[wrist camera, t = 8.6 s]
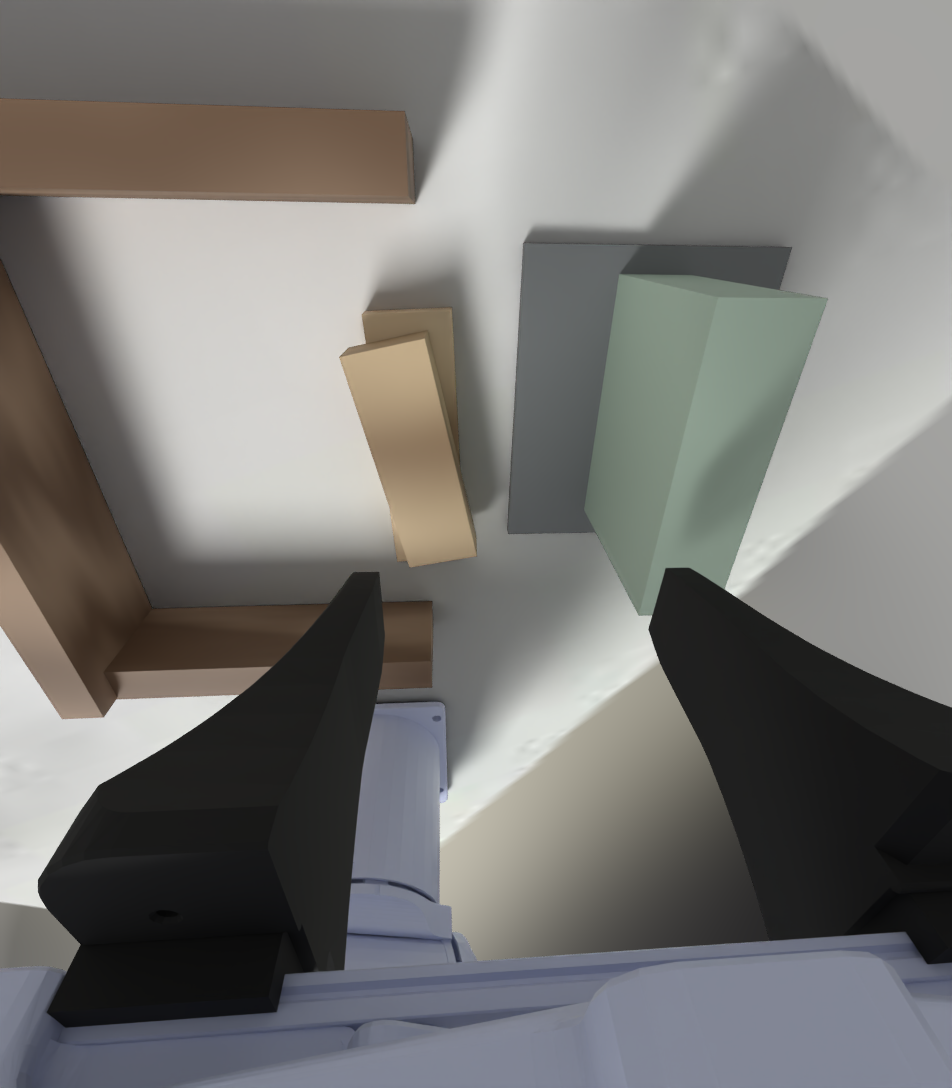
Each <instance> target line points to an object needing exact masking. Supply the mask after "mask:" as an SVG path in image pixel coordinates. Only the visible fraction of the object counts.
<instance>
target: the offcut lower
mask: <svg viewBox="0 0 952 1088" xmlns="http://www.w3.org/2000/svg"><path fill="white" fill-rule="evenodd" d="M362 319H363V326H364V333H365V340H366V344H367V343H372V342H376V341H381V340H386V339H390V338H395V337H399V336H404V335H408V334H413V333H418V332H422V331H427V330H428V333H429V337H430V341H431V345H432V350H433V354H434V358H435V362H436V367H437V371H438V375H439V379H440V384H441V388H442V392H443V397H444V401H445V405H446V409H447V414H448V418H449V422H450V426H451V431H452V435H453V439H454V443H455V448H456V452H457V456H458V461H459V465H460V453H459V434H458V415H457V396H456V377H455V359H454V340H453V321H452V307H446V308H422V309H399V310H376V311H365V312H364V313H363V314H362ZM390 514H391V521H392V528H393V535H394V542H395V549H396V556H397V562H401V561H407V558H406V555H405V552H404V549H403V546H402V543H401V540H400V537H399V534H398V531H397V528H396V525H395V522H394V519H393V516H392V513H391V510H390Z"/></svg>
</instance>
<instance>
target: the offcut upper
mask: <svg viewBox="0 0 952 1088" xmlns="http://www.w3.org/2000/svg"><path fill="white" fill-rule="evenodd" d="M339 358H340V361H341V364H342V367H343V370H344V373H345V376H346V379H347V382H348V385H349V388H350V391H351V394H352V397H353V400H354V403H355V406H356V409H357V412H358V415H359V418H360V421H361V424H362V427H363V430H364V433H365V436H366V439H367V442H368V445H369V448H370V451H371V454H372V457H373V459H374V462H375V465H376V468H377V471H378V474H379V477H380V480H381V483H382V486H383V489H384V492H385V495H386V498H387V501H388V504H389V507H390V510H391V513H392V516H393V519H394V522H395V525H396V528H397V531H398V534H399V537H400V540H401V543H402V546H403V549H404V552H405V555H406V558H407V561H408V564H409V567H410V568H411V567H417V566H423V565H428V564H434V563H440V562H446V561H452V560H458V559H463V558H469V557H475V556H477V543H476V533H475V529H474V524H473V520H472V516H471V512H470V507H469V503H468V499H467V495H466V490H465V486H464V482H463V478H462V473H461V469H460V465H459V461H458V456H457V452H456V448H455V443H454V439H453V435H452V431H451V426H450V422H449V418H448V414H447V409H446V405H445V401H444V397H443V392H442V388H441V384H440V379H439V375H438V371H437V367H436V362H435V358H434V354H433V350H432V345H431V341H430V337H429V333H428V330H427V331H422V332H418V333H413V334H408V335H404V336H399V337H395V338H390V339H386V340H381V341H376V342H372V343H367V344H363V345H358V346H354V347H349V348H348V349H347V350H346V351H345V352H344V353H343V354H342V355H341V356H340V357H339Z"/></svg>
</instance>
